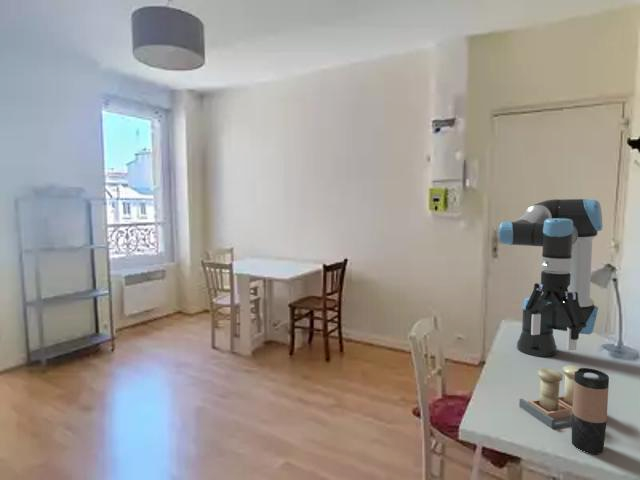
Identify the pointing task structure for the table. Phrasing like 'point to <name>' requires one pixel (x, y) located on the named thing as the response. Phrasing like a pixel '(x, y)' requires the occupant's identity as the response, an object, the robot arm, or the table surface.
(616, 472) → the table surface
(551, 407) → the cream pawn-shaped knob
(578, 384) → the travel mug
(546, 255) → the robot arm
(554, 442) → the table surface
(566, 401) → the housing
